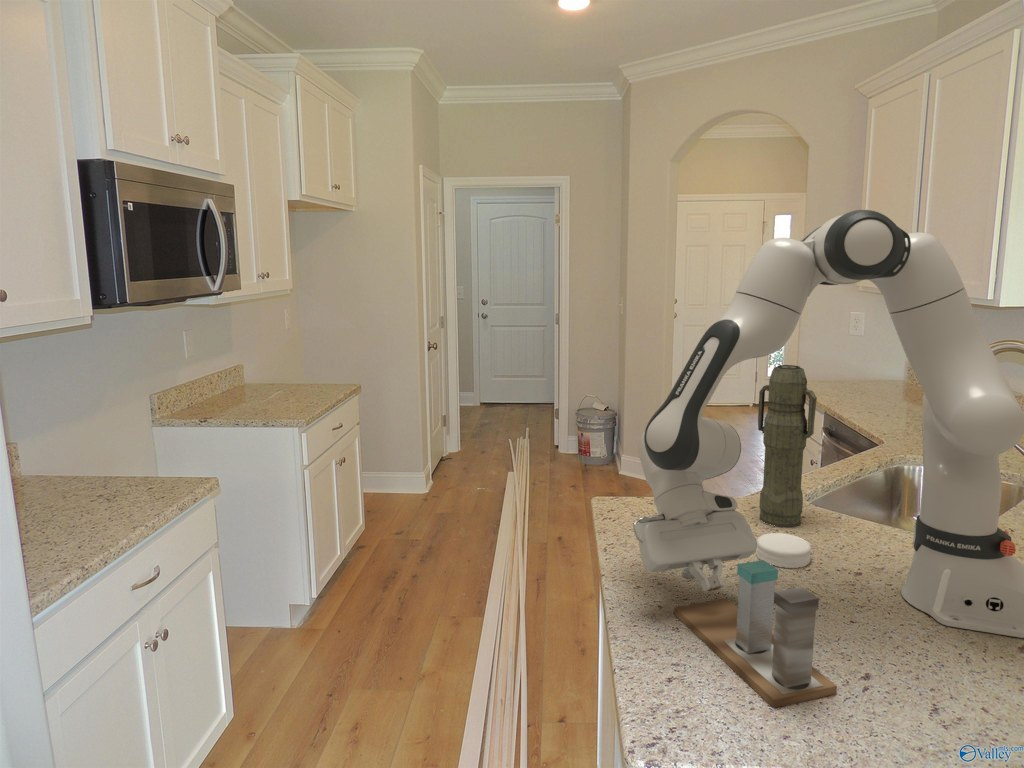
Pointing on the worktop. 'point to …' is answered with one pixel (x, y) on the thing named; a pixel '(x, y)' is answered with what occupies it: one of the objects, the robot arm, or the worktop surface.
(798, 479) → the thermos
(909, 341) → the robot arm
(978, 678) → the worktop surface
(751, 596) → the teal-lidded container
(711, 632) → the wooden grinder stand
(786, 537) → the white flat disc
